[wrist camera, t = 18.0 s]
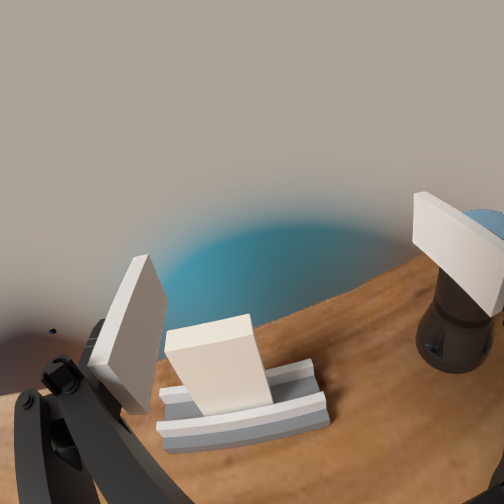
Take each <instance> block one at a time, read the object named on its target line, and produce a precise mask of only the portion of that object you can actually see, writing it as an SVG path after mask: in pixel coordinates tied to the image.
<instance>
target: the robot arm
mask: <svg viewBox="0 0 504 504" xmlns="http://www.w3.org/2000/svg"><path fill="white" fill-rule="evenodd" d="M412 242H413V243H414V244H415V245H417V246H418V247H419V248H420V249H421V250H422V251H423V252H424V253H426V254H427V255H428V256H429V257H430V258H431V259H432V260H433V261H434V262H435V263H437V264H438V265H439V266H440V268H439V274H438V279H437V284H436V290H435V295H434V300H433V301H432V303H431V304H430V306H429V307H428V309H427V311H426V312H425V314H424V315H423V317H422V318H421V320H420V322H419V325H418V329H417V334H416V345H417V348H418V351H419V353H420V354H421V356H422V357H423V359H424V360H425V361H426V362H427V363H429V364H430V365H431V366H433V367H434V368H436V369H438V370H441V371H443V372H447V373H454V374H459V373H466V372H469V371H472V370H474V369H476V368H477V367H479V366H480V365H481V364H482V363H483V362H484V360H485V359H486V357H487V355H488V353H489V351H490V348H491V345H492V341H493V324H494V315H496V314H498V313H499V312H501V311H504V215H503V214H502V213H501V212H498V211H493V210H485V209H480V210H479V209H478V210H469V211H465V212H463V213H461V212H460V211H458V210H457V209H455V208H453V207H451V206H450V205H448V204H447V203H445V202H443V201H441V200H439V199H438V198H436V197H434V196H432V195H431V194H429V193H427V192H420V193H415V194H414V223H413V241H412ZM167 306H168V299H167V296H166V294H165V292H164V290H163V287H162V285H161V283H160V280H159V278H158V276H157V273H156V271H155V268H154V266H153V264H152V261H151V259H150V256H149V254H146V255H142V256H138V257H134V258H133V260H132V263H131V265H130V267H129V269H128V271H127V273H126V275H125V277H124V279H123V281H122V284H121V286H120V288H119V290H118V292H117V294H116V297H115V299H114V301H113V303H112V306H111V308H110V310H109V313H108V315H107V317H106V319H101V320H100V321H99V322H98V323H97V325H96V326H95V327H94V328H93V330H92V332H91V335H90V337H89V340H88V342H87V344H86V348H85V349H84V351H83V354H82V356H81V358H80V361H79V364H78V366H76V365H75V364H74V362H73V361H72V360H71V359H70V358H69V357H68V356H66V355H60V356H57V357H55V358H53V359H51V360H50V361H49V362H48V363H47V364H46V365H45V367H44V368H43V369H42V372H41V375H40V376H41V381H42V383H43V384H44V385H45V386H46V387H47V388H48V389H49V390H50V391H51V392H52V394H49V395H46V396H42V395H41V394H40V393H39V392H38V391H37V390H36V389H34V388H30V389H27V390H25V391H24V392H22V393H21V395H19V397H18V399H17V401H16V404H15V412H14V453H15V469H16V480H17V489H18V497H19V503H20V504H100V501H99V498H98V494H97V491H96V488H95V485H94V481H95V483H96V485H97V486H98V488H99V490H100V491H101V493H102V495H103V496H104V498H105V499H106V501H107V503H108V504H195V503H194V502H193V501H192V500H191V499H190V498H189V497H188V496H187V495H186V494H185V493H184V492H183V491H182V490H181V489H180V488H179V487H178V486H177V485H176V484H175V483H174V481H173V480H172V479H171V478H170V477H169V476H168V475H167V474H166V472H165V471H164V470H163V469H162V468H161V467H160V466H159V464H158V463H157V462H156V461H155V460H154V458H153V457H152V456H151V455H150V453H149V452H148V451H147V450H146V448H145V447H144V446H143V445H142V443H141V442H140V441H139V439H138V438H137V437H136V435H135V434H134V433H133V431H132V430H131V428H130V427H129V426H128V424H127V423H126V421H125V420H124V419H123V418H122V417H121V416H120V412H121V408H122V407H123V408H124V409H125V410H126V412H127V413H128V414H129V415H145V414H149V408H150V401H151V394H152V387H153V381H154V375H155V369H156V363H157V357H158V352H159V346H160V341H161V336H162V330H163V325H164V320H165V315H166V310H167ZM503 326H504V321H503ZM93 479H94V481H93ZM462 504H504V451H503V456H502V459H501V461H500V463H499V465H498V466H497V468H496V470H495V471H494V474H493V476H492V478H491V481H490V484H489V488H488V489H487V490H486V491H484V492H482V493H481V494H479V495H477V496H475V497H474V498H472V499H470V500H468V501H466V502H464V503H462Z"/></svg>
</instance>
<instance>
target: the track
mask: <svg viewBox="0 0 504 504" xmlns="http://www.w3.org/2000/svg"><path fill="white" fill-rule="evenodd" d="M265 372H266V376H267V379H268V383H269V386H270V390H271V394H272V398H273V403H274V404H272V405H268V406H263V407H259V408H254V409H249V410H244V411H238V412H233V413H227V414H221V415H214V416H207V417H204V415H203V414H202V412H201V411H200V409H199V408H198V406H197V405H196V403H195V402H194V400H193V399H192V397H191V395H190V394H189V392H188V391H187V389H186V387H185V386H184V385H183V386H176V387H169V388H161V389H160V394H159V396H160V398H161V399H162V400H163V402H164V403H165V404H166V406H165V420H164V421H163V422H157V427H156V431H157V432H158V433H159V434H160V435H161V436H162V437H163V449H164V450H165V451H166V452H167V453H168V454H176V453H190V452H201V451H210V450H218V449H226V448H233V447H239V446H245V445H251V444H256V443H262V442H267V441H272V440H276V439H281V438H285V437H289V436H293V435H297V434H301V433H305V432H309V431H313V430H316V429H320V428H323V427H326V426H330V418H329V415H328V412H327V409H326V398H325V396H324V393H323V391H322V392H320V390H319V387H318V384H317V382H316V379H315V376H314V367H313V363H312V361H311V358H310V359H307V360H303V361H300V362H296V363H292V364H288V365H284V366H280V367H276V368H272V369H268V370H265Z"/></svg>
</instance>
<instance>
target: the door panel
mask: <svg viewBox="0 0 504 504" xmlns="http://www.w3.org/2000/svg"><path fill="white" fill-rule="evenodd" d="M165 354H166V355H167V357H168V359H169V361H170V362H171V364H172V366H173V368H174V369H175V371H176V373H177V374H178V376H179V378H180V379H181V381H182V383H183V384H184V386H185V387H186V389H187V391H188V392H189V394H190V395H191V397H192V399H193V400H194V402H195V403H196V405H197V406H198V408H199V409H200V411H201V412H202V414H203V415H204V417H207V416H214V415H221V414H227V413H233V412H238V411H244V410H249V409H254V408H259V407H263V406H268V405H272V404H274V403H273V398H272V394H271V390H270V386H269V383H268V379H267V376H266V372H265V369H264V365H263V361H262V358H261V354H260V351H259V347H258V344H257V340H256V336H255V333H254V329H253V326H252V322H251V318H250V314H245V315H241V316H237V317H232V318H228V319H224V320H219V321H215V322H210V323H205V324H200V325H195V326H190V327H185V328H180V329H175V330H170V331H167V336H166V344H165Z"/></svg>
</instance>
